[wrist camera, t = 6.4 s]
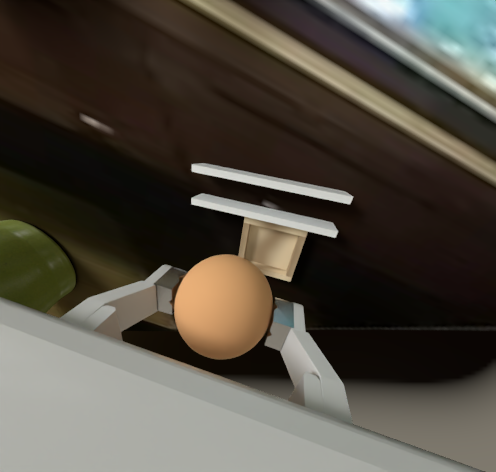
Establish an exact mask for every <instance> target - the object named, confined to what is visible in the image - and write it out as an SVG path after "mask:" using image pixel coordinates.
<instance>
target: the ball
mask: <svg viewBox="0 0 496 472" xmlns="http://www.w3.org/2000/svg"><path fill="white" fill-rule="evenodd" d="M272 309H273V300H272V293H271V289H270V286H269V284H268V281H267V279H266V278H265V276H264V274H263V273H262V272H261V271H260V269H259V268H258V267H257V266H255V265H254V264H253V263H251V262H250V261H248V260H246V259H244V258H242V257H239V256H235V255H217V256H213V257H210V258H207V259H205V260H203V261H201V262H200V263H198V264H197V265H195V266H194V267H193V268H192V269H191V270H190V271H189V272H188V273H187V274H186V276H185V277H184V279H183V280H182V282H181V284H180V286H179V288H178V291H177V294H176V298H175V305H174V314H175V321H176V325H177V328H178V330H179V332H180V335H181V336H182V338H183V339H184V341H185V342H186V343H187V344H188V346H189V347H191V348H192V349H193V350H194V351H196V352H197V353H199V354H201V355H203V356H206V357H209V358H213V359H229V358H234V357H237V356H240V355H242V354H244V353H245V352H247V351H249V350H250V349H251V348H253V347H254V346H255V345H256V344H257V343H258V342H259V341H260V339H261V338H262V337H263V335H264V333H265V332H266V330H267V328H268V326H269V323H270V320H271V316H272Z"/></svg>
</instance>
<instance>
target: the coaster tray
mask: <svg viewBox="0 0 496 472" xmlns="http://www.w3.org/2000/svg"><path fill="white" fill-rule="evenodd" d="M307 233H308V231H304V230H300V229H295V228H291V227H287V226H283V225H278V224H274V223H270V222H266V221H261V220H257V219H253V218H248V217H245V218H244V224H243V230H242V237H241V243H240V249H239V255H238V256H239V257H242V258H244V259H246V260H248V261H250V262H251V263H253V264H254V265H255V266H257V267H258V268H259V269H260V271H261V272H262V273H263V274H264V275H267V276H271V277H275V278H278V279H282V280H286V281H289V282H291V279H292V276H293V273H294V270H295V267H296V264H297V262H298V259H299V256H300V253H301V250H302V247H303V244H304V242H305V239H306V236H307Z"/></svg>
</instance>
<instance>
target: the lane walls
mask: <svg viewBox="0 0 496 472" xmlns="http://www.w3.org/2000/svg"><path fill="white" fill-rule="evenodd" d="M192 172H196V173H201V174H206V175H211V176H215V177H220V178H225V179H230V180H235V181H240V182H244V183H249V184H254V185H259V186H264V187H268V188H273V189H278V190H283V191H288V192H292V193H297V194H302V195H307V196H312V197H316V198H321V199H326V200H331V201H336V202H340V203H345V204H351V201H352V199H353V196H351V195H350V194H348V193H347V192H346V191H341V190H336V189H331V188H326V187H321V186H316V185H311V184H306V183H301V182H296V181H291V180H286V179H281V178H276V177H271V176H265V175H260V174H255V173H250V172H245V171H240V170H235V169H230V168H225V167H220V166H215V165H210V164H205V163H200V164H192ZM191 204H193V205H197V206H202V207H206V208H210V209H214V210H219V211H223V212H227V213H231V214H236V215H240V216H244V217H248V218H253V219H257V220H261V221H266V222H270V223H274V224H278V225H283V226H287V227H291V228H295V229H300V230H304V231H308V232H313V233H317V234H321V235H325V236H330V237H334V238H336V236H337V233H338V230H337V229H336V227H335V225H334V224H333V222H328V221H324V220H319V219H315V218H310V217H306V216H302V215H297V214H293V213H288V212H284V211H279V210H275V209H270V208H266V207H261V206H257V205H252V204H248V203H243V202H239V201H234V200H230V199H226V198H221V197H217V196H212V195H208V194H203V193H202V194H199V195H197V196H195V197H193V198H191Z"/></svg>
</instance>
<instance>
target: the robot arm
mask: <svg viewBox="0 0 496 472" xmlns="http://www.w3.org/2000/svg"><path fill="white" fill-rule="evenodd" d="M187 273H188V271H185V270H182V269H178V268H175V267H172V266H169V265H166V264H165V265H162V266H161V267H160V268H159V269H158V270H157V271H156V272H154V273H153V274H152V275H151V276H150V277H149V278H147V279H146V280H145V281H139V282H136V283H133V284H130V285H127V286H123V287H120V288H117V289H114V290H111V291H108V292H105V293H101V294H98V295H95V296H92V297H89V298H87V299H86V300H84V301H83V302H82V303H80V304H79V305H77V306H76V307H75V308H73V309H72V310H70V311H69V312H67V313H66V314H65V315H63V316H62V317H60V318H57V317H54V316H51V315H49V314H46V313H43V312H40V311H38V310H35V309H32V308H29V307H27V306H24V305H21V304H18V303H16V302H13V301H10V300H7V299H5V298H2V297H0V472H485V471H482V470H479V469H476V468H473V467H470V466H468V465H465V464H462V463H459V462H457V461H454V460H451V459H448V458H445V457H443V456H440V455H437V454H435V453H432V452H429V451H426V450H423V449H421V448H418V447H415V446H412V445H410V444H407V443H404V442H401V441H398V440H396V439H393V438H390V437H387V436H384V435H382V434H379V433H376V432H373V431H371V430H368V429H365V428H362V427H360V426H357V425H354V424H353V423H352V419H351V414H350V410H349V406H348V401H347V398H346V393H345V389H344V384H343V383H342V381H341V380H340V378H339V377H338V375H337V374H336V373H335V371H334V370H333V368H332V367H331V365H330V364H329V362H328V361H327V360H326V358H325V356H324V355H323V354H322V352H321V351H320V349H319V348H318V346H317V345H316V343H315V342H314V341H313V339H312V337H311V336H310V335H309V333H307V332H305V320H304V310H303V306H302V305H300V304H296V303H292V302H289V301H286V300H282V299H279V298H274V301H273V309H272V316H271V320H270V323H269V326H268V329H267V332H266V338H265V346H268V347H271V348H274V349H277V350H279V351H281V354H282V357H283V359H284V362H285V364H286V367H287V369H288V372H289V374H290V377H291V379H292V382H293V384H294V387H295V389H294V391H293V393H292V394H291V396H290V397H289V399H288V401H287V400H285V399H282V398H279V397H276V396H273V395H271V394H268V393H265V392H262V391H260V390H257V389H254V388H251V387H248V386H246V385H243V384H240V383H237V382H235V381H232V380H229V379H226V378H223V377H221V376H218V375H215V374H212V373H210V372H207V371H204V370H201V369H199V368H196V367H193V366H190V365H187V364H185V363H182V362H179V361H176V360H173V359H171V358H168V357H165V356H162V355H160V354H157V353H154V352H151V351H149V350H146V349H143V348H140V347H137V346H135V345H132V344H129V343H126V342H124V341H123V339H122V335H121V332H122V331H123V330H125V329H127V328H129V327H130V326H132V325H134V324H136V323H137V322H139V321H141V320H143V319H144V318H146V317H148V316H150V315H152V314H153V313H155V312H157V310H158V311H162V312H165V313H168V314H173V313H174V305H175V298H176V294H177V291H178V288H179V286H180V284H181V282H182V280H183V279H184V277H185V276H186V274H187Z"/></svg>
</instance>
